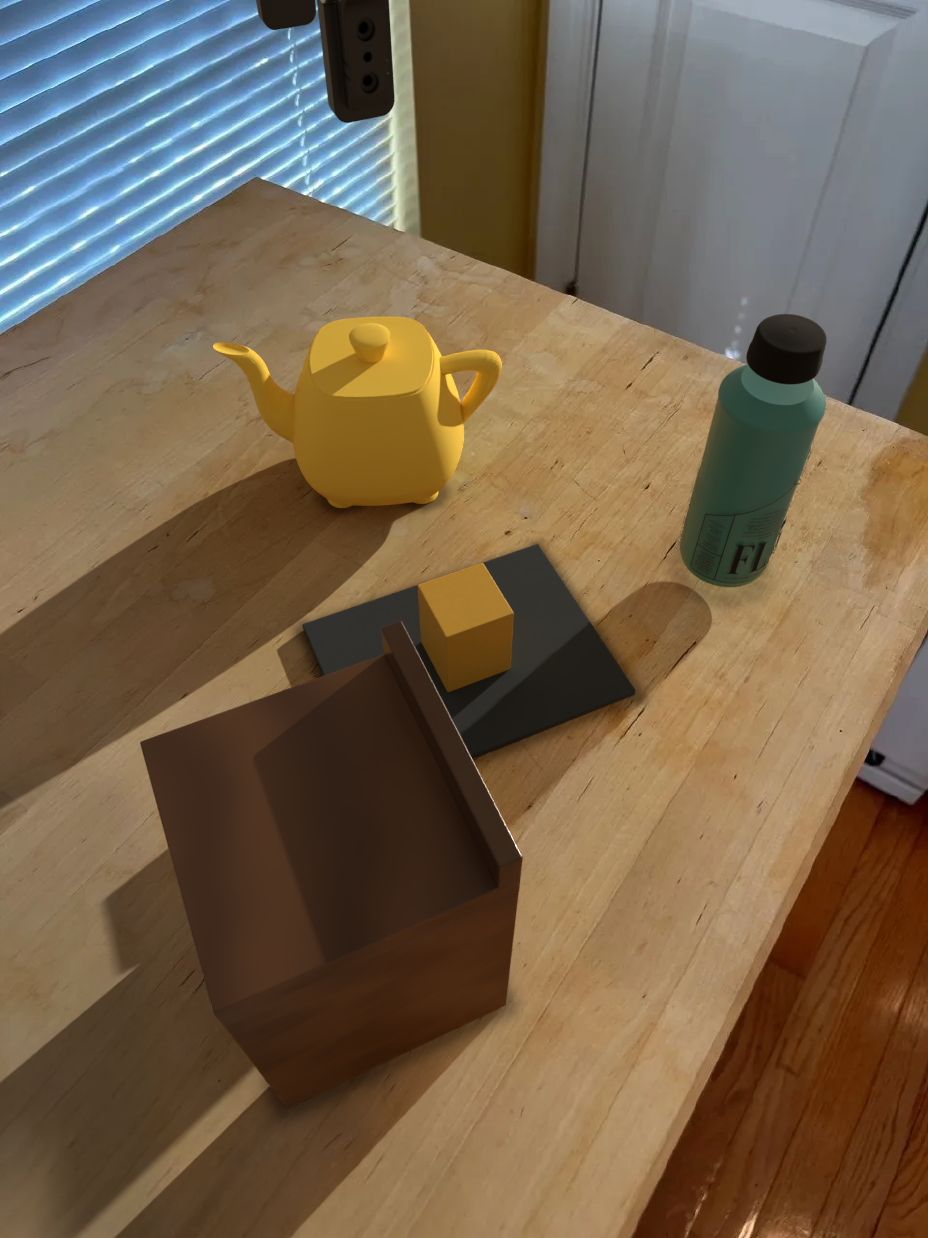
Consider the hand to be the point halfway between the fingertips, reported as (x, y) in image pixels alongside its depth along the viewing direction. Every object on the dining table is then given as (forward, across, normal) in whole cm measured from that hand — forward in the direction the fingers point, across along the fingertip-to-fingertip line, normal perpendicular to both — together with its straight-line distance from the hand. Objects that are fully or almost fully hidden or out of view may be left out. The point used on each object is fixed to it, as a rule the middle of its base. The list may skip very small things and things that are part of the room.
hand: (323, 66), depth 35 cm
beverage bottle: (+36, +4, +24) cm, 44 cm away
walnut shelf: (+36, +19, -9) cm, 42 cm away
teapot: (+36, -16, +5) cm, 40 cm away
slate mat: (+36, +4, +4) cm, 37 cm away
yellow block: (+36, +4, +4) cm, 36 cm away
